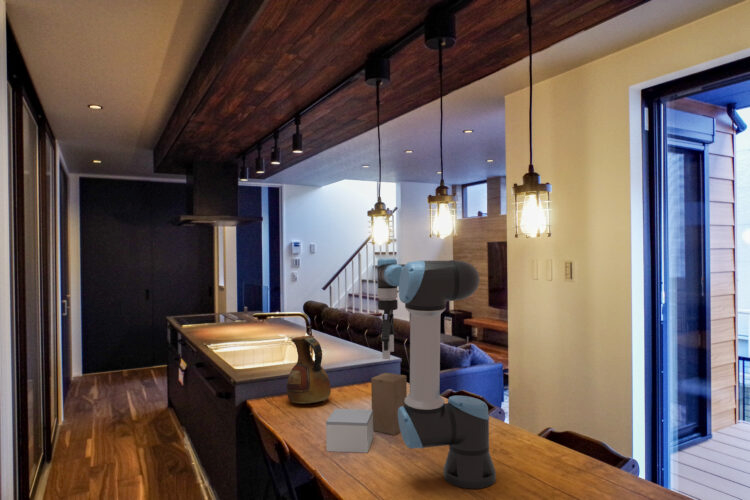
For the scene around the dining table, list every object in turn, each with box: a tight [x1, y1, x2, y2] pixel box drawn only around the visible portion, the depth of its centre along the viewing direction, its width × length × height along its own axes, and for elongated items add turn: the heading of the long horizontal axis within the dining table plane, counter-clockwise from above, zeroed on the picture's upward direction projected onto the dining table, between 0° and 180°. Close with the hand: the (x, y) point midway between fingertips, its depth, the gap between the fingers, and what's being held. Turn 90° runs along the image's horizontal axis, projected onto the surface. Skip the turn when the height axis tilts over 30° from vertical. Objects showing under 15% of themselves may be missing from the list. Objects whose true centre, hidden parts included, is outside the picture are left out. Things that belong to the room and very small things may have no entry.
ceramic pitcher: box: [286, 335, 332, 404], centre depth 228 cm, size 20×20×30 cm
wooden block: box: [370, 372, 408, 436], centre depth 191 cm, size 10×10×20 cm
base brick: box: [325, 408, 374, 454], centre depth 177 cm, size 14×14×10 cm
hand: (388, 355), depth 192 cm, fingers open, 13 cm apart
